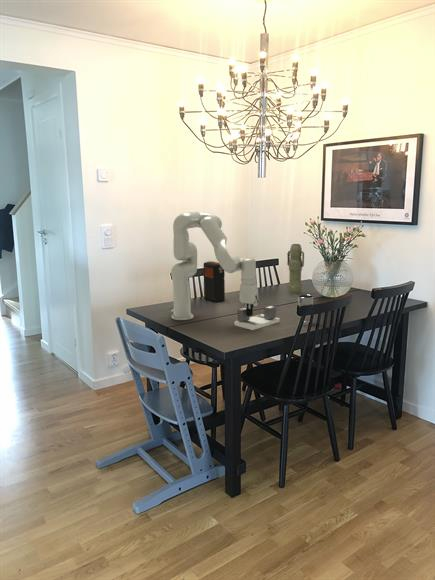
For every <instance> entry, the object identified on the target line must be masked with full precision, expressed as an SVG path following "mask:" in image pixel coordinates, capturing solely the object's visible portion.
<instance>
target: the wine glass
mask: <svg viewBox="0 0 435 580" xmlns="http://www.w3.org/2000/svg"><path fill="white" fill-rule="evenodd" d="M297 302H298V306H299V305H309V304H312V305H313V303H314V295H312V294H301V295H298V296H297ZM306 319H307V316H306V317H305V321H304V320H303V321H304V323H306V322H307V320H306ZM299 322H300V321H298V322H297V323H298V324H299ZM308 322H309V321H308ZM308 322H307V323H308Z"/></svg>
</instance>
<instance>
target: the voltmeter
mask: <svg viewBox="0 0 435 580" xmlns="http://www.w3.org/2000/svg"><path fill="white" fill-rule="evenodd" d="M225 277H226V276H225V270H224V269H223V268H222V267H221V265H220V264H219V262H218V261H210V260H209V261H205V262H204V263H203V297H204V299H206V300H209V301H212V302H215V303H218V302H225V300H226V297H225V296H226V295H225V293H226V291H225V289H226V288H225V286H226V285H225V282H226V281H225Z"/></svg>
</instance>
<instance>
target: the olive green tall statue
mask: <svg viewBox="0 0 435 580" xmlns="http://www.w3.org/2000/svg"><path fill="white" fill-rule="evenodd" d="M302 250H303V249H302V245H301V244H300V243H293V244H291V246H290V249H289V251H288V252H286V253H287V265H288V270H289V283H288V295H289V294H290V295H300V294H301V295H302V290H303V289H302V270H303V267H304V265H305V252H304V251H302ZM290 295H289V296H290Z"/></svg>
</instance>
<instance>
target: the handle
mask: <svg viewBox="0 0 435 580" xmlns="http://www.w3.org/2000/svg"><path fill="white" fill-rule="evenodd" d="M263 309H264V312H263V313H264V314H263V315H264V318H265V319H269V320H270V319H274V318H277V307H276V306H273V305H269V306H265V307H264V308H263Z"/></svg>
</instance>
